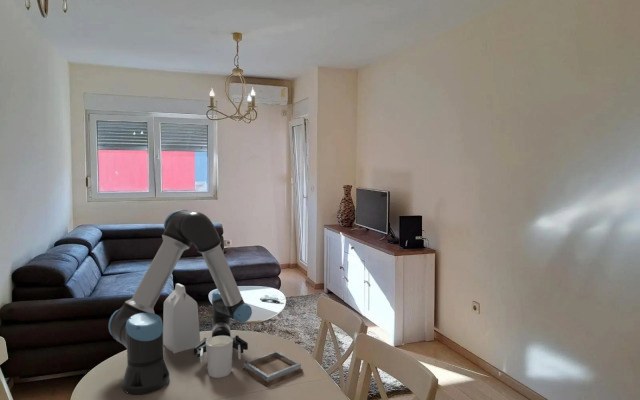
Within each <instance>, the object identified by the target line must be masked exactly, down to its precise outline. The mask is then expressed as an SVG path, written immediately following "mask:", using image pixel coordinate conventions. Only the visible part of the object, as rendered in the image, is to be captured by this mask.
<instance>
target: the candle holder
mask: <svg viewBox="0 0 640 400" xmlns="http://www.w3.org/2000/svg"><path fill="white" fill-rule="evenodd" d="M231 337H232V336H231ZM231 337H229V336H215V337H212V336H211V337H210V338H208V339H207V340H206V352H205V353H206V362H207V364H206V365H207V373H208V376H209V377H211V378H216V379H218V378H220V379H221V378H226V377H227V376H230V374H231V373H232V369H233V368H232V367H233V349H234V348H233V338H234V337H232V338H231Z"/></svg>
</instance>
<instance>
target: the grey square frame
mask: <svg viewBox="0 0 640 400" xmlns="http://www.w3.org/2000/svg"><path fill="white" fill-rule="evenodd" d="M275 357H277V358H278V359H280V360H282V361H284V362H286V363H287V364H289V365H291V366H290V367H287V368H285V369H282V370H280V371H277V372H275V373H272V374H270V375H267V374H265V373H264V372H262V371H261V370H259V369H257V368H256V367H254V365H256V364H259V363H262V362H265V361H267V360H270V359H273V358H275ZM243 367H244V368H245V369H247V370H249V371H250V372H252V373H253V374H255V375H256V376H258V377H259V378H261V379H262V380H264V381H266V382H267V383H268V382H270V381H273V380H275V379H278V378H280V377H282V376H285V375H287V374H290V373H292V372H295V371H297V370H299V369H301V368H302V364H301V363H300V362H298V361H296V360H295V359H292V358H291V357H289V356H287V355H286V354H284V353H282V352H280V351H278V350H276V351H275V350H274V351H273V352H269V353H265V354H263V355H260V356H257V357H255V358H252V359H250V360H246V361H244V362H243Z"/></svg>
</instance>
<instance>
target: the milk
mask: <svg viewBox="0 0 640 400" xmlns="http://www.w3.org/2000/svg"><path fill="white" fill-rule="evenodd" d="M162 317H163V318H162V319H163V320H162V324H163V346H164V345H165V346H164V347H166V348H167V349H168V350H169V351H170V352H172V353H173V354H177V353H179V352H180V353H181V352H185V351H187V350H191V349H193V347H195V346H196V345H197V344H199V343H200V342H201V333H200V322H199V321H200V320H199V308H198V302H197V300H195V299H194V298H193V297H192V296H190V295H189V294H188V293H187V292H186V286H185V285H183V284H181V283H175V287H174V290H173V291H172V292H171V293H170V294H169V295H168V296H167V297H166V298H165V300H164V301H163V316H162Z"/></svg>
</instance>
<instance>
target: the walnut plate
mask: <svg viewBox="0 0 640 400" xmlns="http://www.w3.org/2000/svg"><path fill="white" fill-rule="evenodd" d="M290 366H291V365H289V364H287V363H286V362H284V361H282V360H280V359H278V358H277V357H275V358H273V359H270V360H267V361H265V362H262V363H259V364H256V365H254V367H256V368H257V369H259V370H261V371H262V372H264V373H265V374H267V375H270V374H272V373H275V372H277V371H280V370H282V369H285V368H287V367H290ZM241 370H242V371H243V373H246V374H247V375H249V376H250V377H252V378H253V379H255V380H256V381H257V382H260V383H261V384H263V385H264V386H265V387H270V386H272V385H274V384H276V383H279V382H281V381H283V380H287V379H288V378H291V377H293V376H295V375H298V374H301V373H303V372H304V371H303V370H304V369H303V368H302V367H301V369H299V370H297V371H295V372H292V373H290V374H287V375H285V376H282V377H280V378H278V379H275V380H273V381H270V382H268V383H267V382H266V381H264V380H262V379H261V378H259V377H258V376H256V375H255V374H253V373H252V372H250V371H249V370H247V369H245V368H244V366H242V368H241Z"/></svg>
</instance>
